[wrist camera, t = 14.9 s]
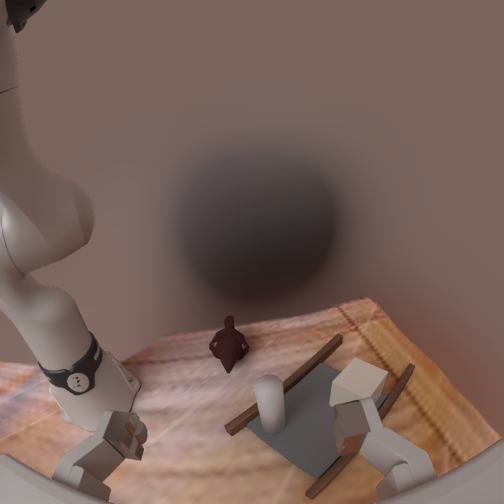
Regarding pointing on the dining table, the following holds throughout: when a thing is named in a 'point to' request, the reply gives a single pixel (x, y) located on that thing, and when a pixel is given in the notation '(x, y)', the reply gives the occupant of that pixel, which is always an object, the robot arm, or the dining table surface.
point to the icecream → (228, 345)
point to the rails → (295, 378)
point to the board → (300, 419)
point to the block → (357, 383)
